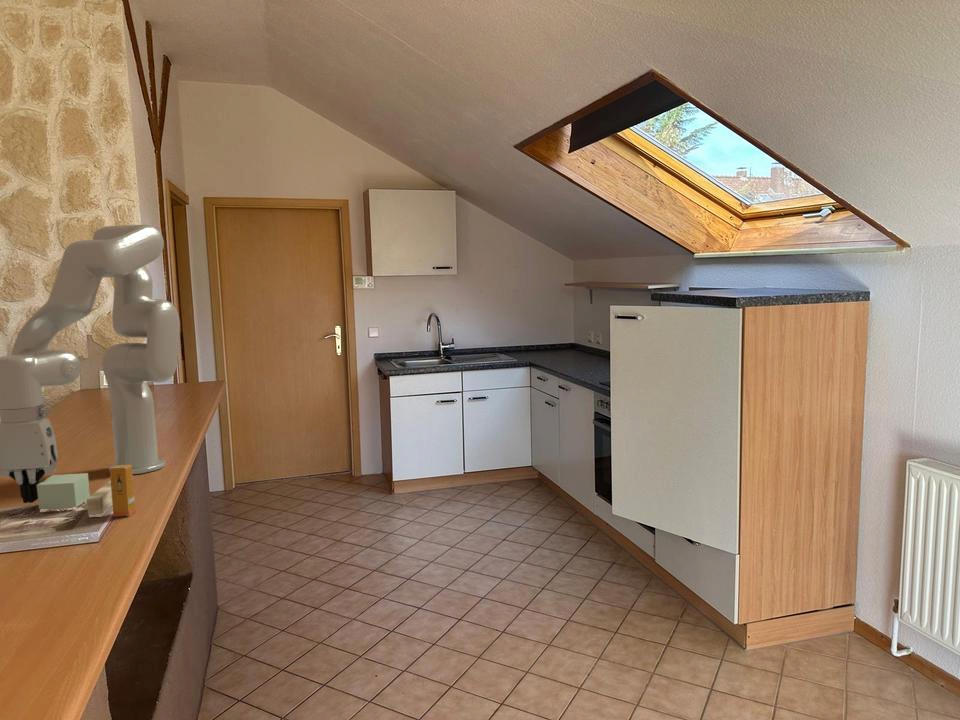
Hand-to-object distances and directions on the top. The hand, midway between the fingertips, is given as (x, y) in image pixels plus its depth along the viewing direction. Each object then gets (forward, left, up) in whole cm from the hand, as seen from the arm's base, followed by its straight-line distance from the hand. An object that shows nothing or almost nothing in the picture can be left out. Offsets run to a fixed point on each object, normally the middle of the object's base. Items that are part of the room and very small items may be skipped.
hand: (31, 500), depth 141 cm
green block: (0, +6, -2) cm, 7 cm away
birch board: (0, +16, -2) cm, 16 cm away
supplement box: (+8, +21, -2) cm, 23 cm away
